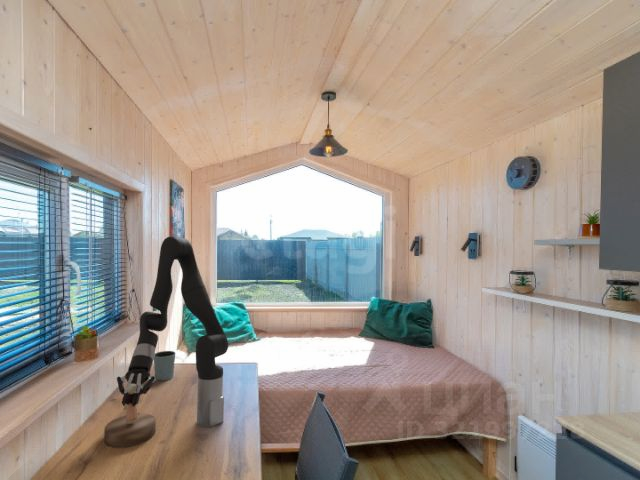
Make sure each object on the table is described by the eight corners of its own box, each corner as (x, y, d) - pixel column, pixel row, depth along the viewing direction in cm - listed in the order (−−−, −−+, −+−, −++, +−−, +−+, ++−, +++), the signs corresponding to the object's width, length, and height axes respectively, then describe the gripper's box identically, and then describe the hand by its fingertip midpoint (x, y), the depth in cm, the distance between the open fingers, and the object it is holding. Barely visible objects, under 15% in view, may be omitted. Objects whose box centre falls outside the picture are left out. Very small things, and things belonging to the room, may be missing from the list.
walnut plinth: (164, 434, 131) (164, 422, 131) (116, 453, 118) (117, 441, 118) (142, 419, 141) (142, 409, 141) (96, 436, 128) (96, 425, 128)
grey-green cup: (179, 375, 188) (179, 351, 188) (165, 382, 178) (166, 357, 178) (162, 373, 191) (162, 349, 191) (148, 380, 181) (148, 355, 181)
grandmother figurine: (133, 424, 126) (133, 387, 126) (121, 425, 126) (121, 388, 126) (141, 414, 134) (141, 379, 134) (130, 414, 133) (130, 379, 133)
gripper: (120, 354, 136) (104, 401, 124) (159, 353, 138) (147, 400, 126) (125, 363, 142) (110, 410, 130) (163, 363, 143) (152, 409, 131)
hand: (129, 405), depth 128 cm, fingers closed on grandmother figurine, 2 cm apart
